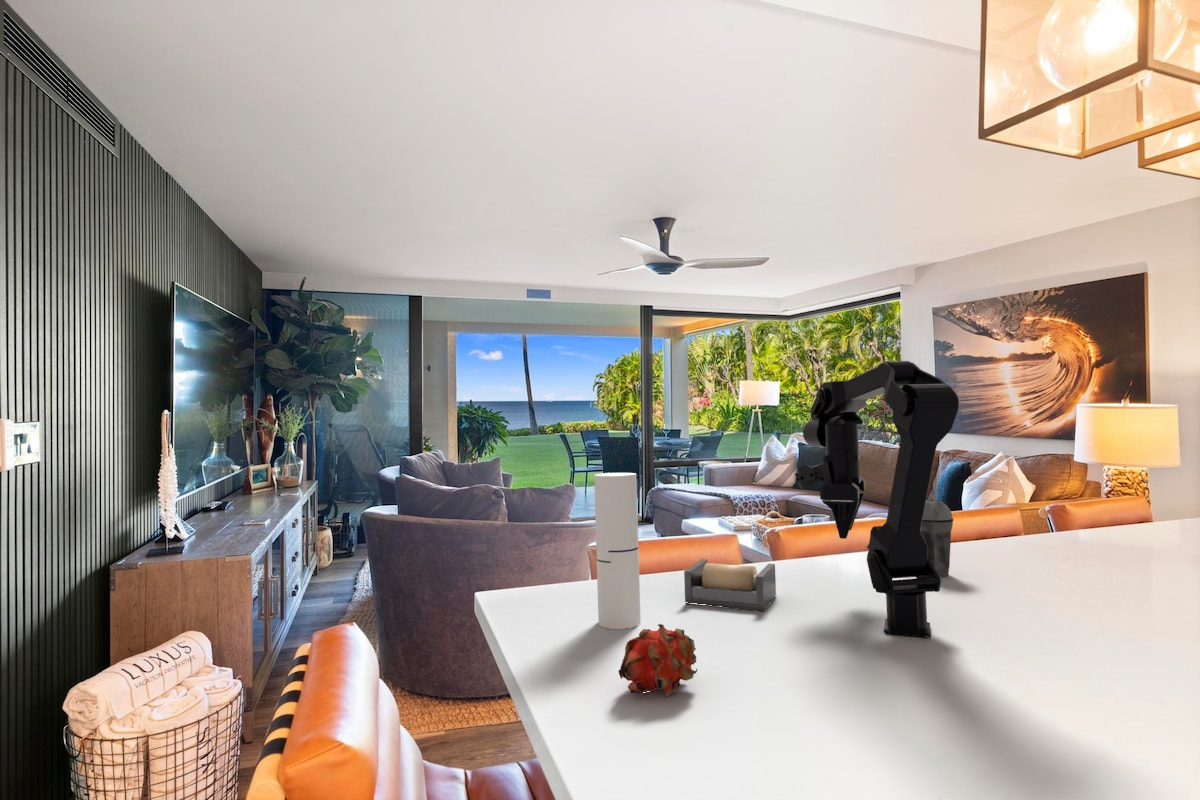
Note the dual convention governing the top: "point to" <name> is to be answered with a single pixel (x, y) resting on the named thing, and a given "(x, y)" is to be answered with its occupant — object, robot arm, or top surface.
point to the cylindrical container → (617, 550)
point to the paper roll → (729, 576)
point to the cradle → (730, 590)
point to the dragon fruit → (658, 660)
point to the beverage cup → (937, 533)
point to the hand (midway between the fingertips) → (845, 534)
